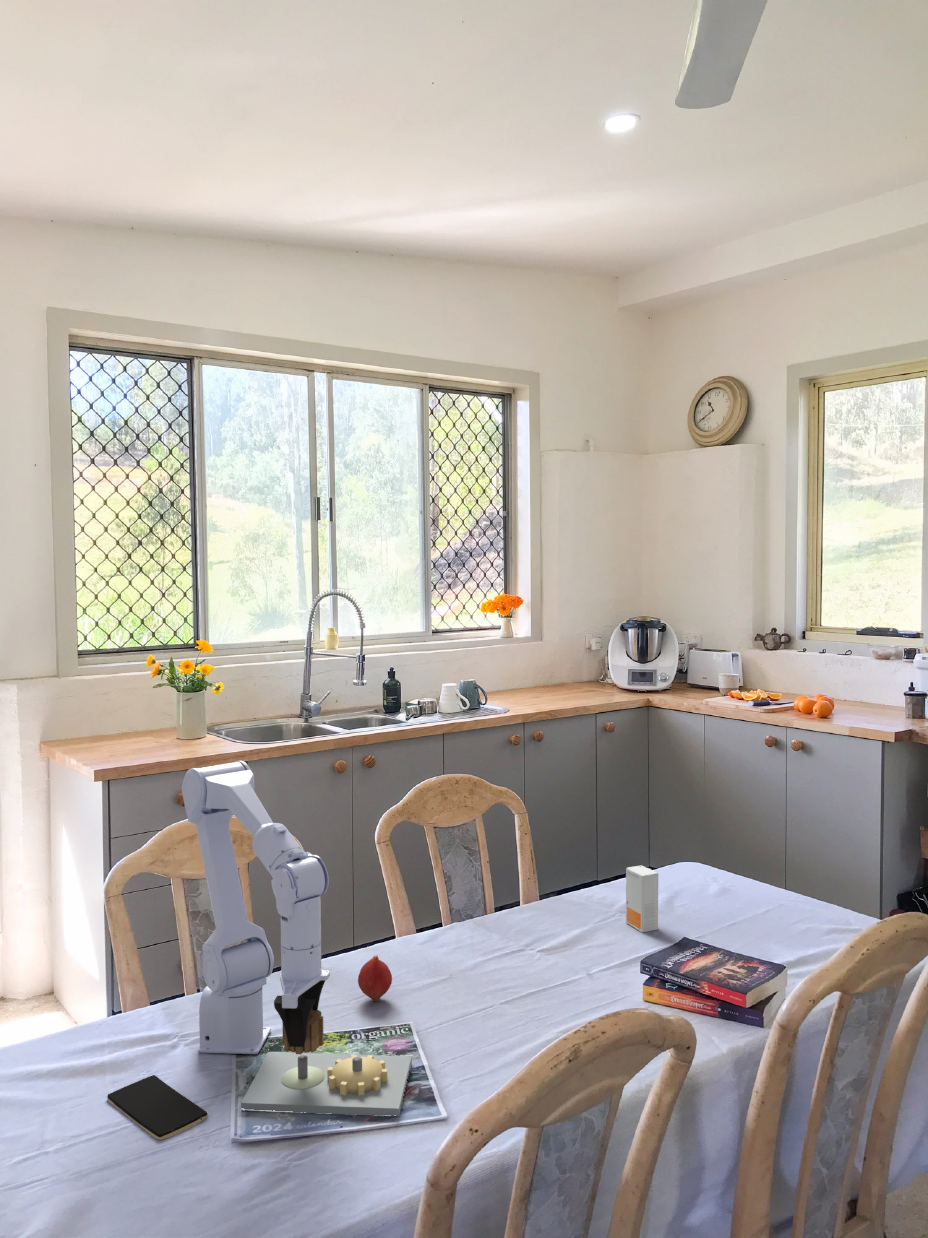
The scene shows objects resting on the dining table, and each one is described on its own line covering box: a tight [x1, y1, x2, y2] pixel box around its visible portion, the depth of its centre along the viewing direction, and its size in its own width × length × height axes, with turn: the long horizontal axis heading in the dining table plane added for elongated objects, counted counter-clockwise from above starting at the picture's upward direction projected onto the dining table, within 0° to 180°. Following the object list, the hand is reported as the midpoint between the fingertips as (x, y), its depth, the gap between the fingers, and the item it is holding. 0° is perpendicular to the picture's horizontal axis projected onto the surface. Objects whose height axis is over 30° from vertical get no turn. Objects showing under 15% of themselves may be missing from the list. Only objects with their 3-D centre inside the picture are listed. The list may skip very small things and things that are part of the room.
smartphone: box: [106, 1074, 209, 1141], centre depth 134 cm, size 7×1×15 cm
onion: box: [357, 954, 393, 1002], centre depth 167 cm, size 6×6×8 cm
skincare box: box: [625, 864, 659, 933], centre depth 200 cm, size 6×4×12 cm
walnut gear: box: [282, 1009, 325, 1054], centre depth 139 cm, size 6×6×4 cm
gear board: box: [240, 1051, 413, 1117], centre depth 139 cm, size 22×14×4 cm, turn 86°
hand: (302, 1034), depth 139 cm, fingers closed on walnut gear, 6 cm apart
